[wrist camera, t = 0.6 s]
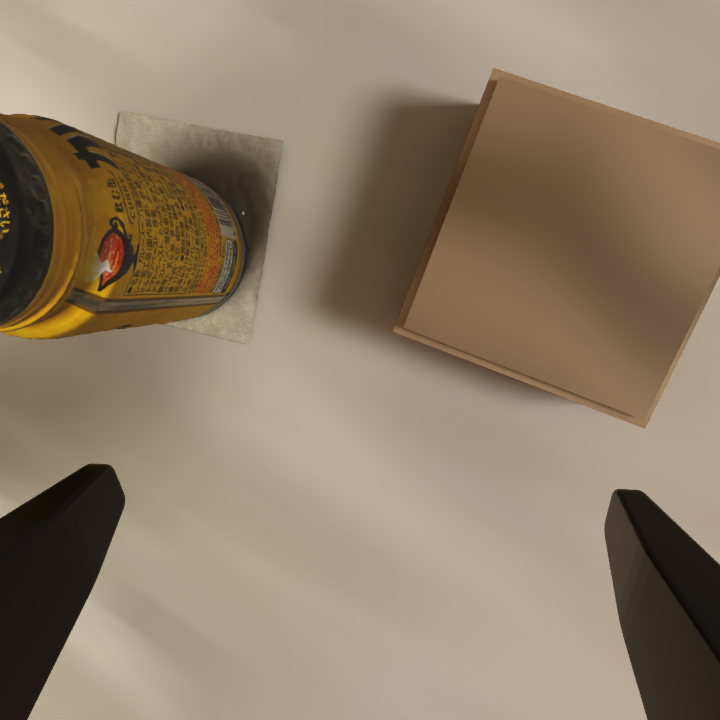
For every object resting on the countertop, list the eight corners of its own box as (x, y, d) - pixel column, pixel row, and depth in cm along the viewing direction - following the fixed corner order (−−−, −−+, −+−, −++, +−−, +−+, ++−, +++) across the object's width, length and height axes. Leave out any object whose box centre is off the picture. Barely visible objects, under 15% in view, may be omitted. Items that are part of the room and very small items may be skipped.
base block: (612, 404, 22) (649, 432, 18) (400, 323, 22) (391, 332, 19) (716, 182, 20) (783, 158, 16) (484, 104, 21) (494, 62, 17)
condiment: (98, 308, 24) (-220, 332, 13) (122, 112, 23) (-212, -65, 11) (251, 344, 24) (61, 404, 12) (286, 142, 22) (109, -15, 10)
